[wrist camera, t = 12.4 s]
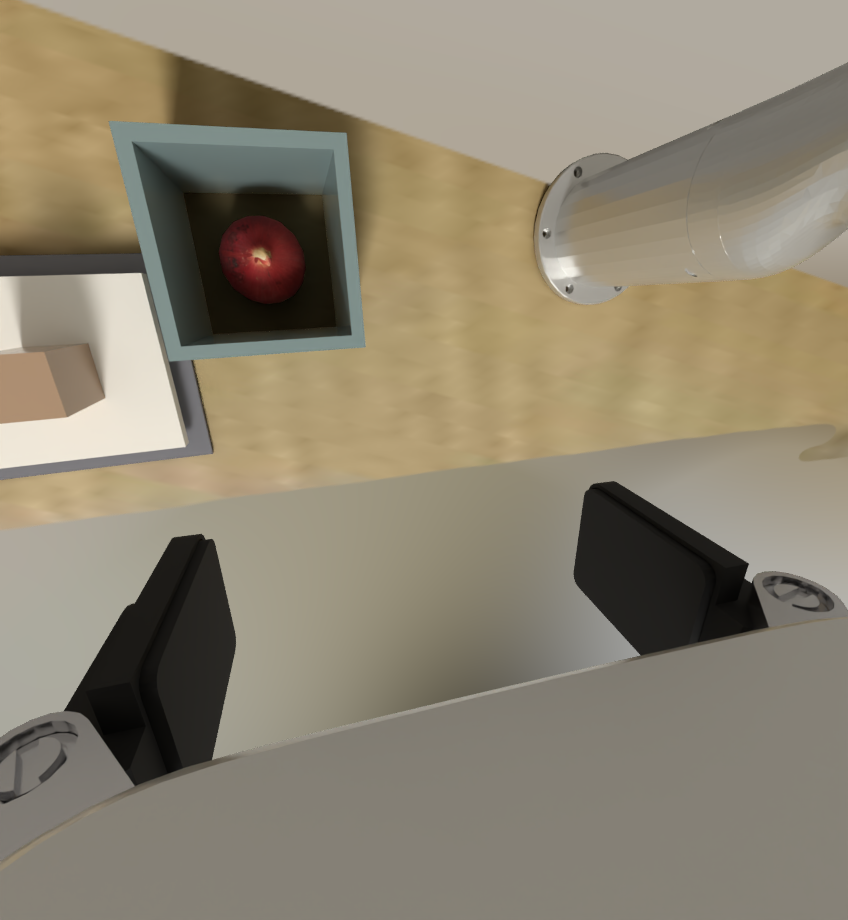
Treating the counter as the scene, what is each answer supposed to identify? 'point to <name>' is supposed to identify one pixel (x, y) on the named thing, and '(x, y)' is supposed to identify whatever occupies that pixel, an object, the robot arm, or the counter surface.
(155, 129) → the teal storage bin
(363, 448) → the counter surface
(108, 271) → the mat
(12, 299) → the lid
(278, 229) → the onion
